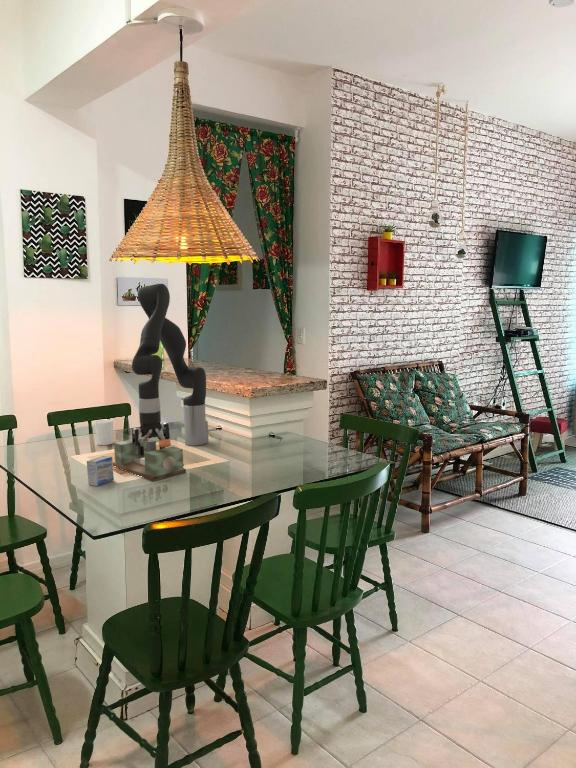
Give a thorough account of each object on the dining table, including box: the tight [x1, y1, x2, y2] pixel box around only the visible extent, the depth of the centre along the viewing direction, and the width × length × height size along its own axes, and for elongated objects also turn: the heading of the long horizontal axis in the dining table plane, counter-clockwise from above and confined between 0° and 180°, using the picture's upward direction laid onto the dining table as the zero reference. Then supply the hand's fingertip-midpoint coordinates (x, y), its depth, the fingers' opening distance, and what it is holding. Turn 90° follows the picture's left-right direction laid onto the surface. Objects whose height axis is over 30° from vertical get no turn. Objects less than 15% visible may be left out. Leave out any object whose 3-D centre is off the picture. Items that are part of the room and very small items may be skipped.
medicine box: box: [86, 455, 115, 487], centre depth 220 cm, size 8×4×9 cm, turn 151°
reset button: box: [158, 438, 172, 448], centre depth 225 cm, size 4×4×2 cm
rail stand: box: [113, 438, 187, 482], centre depth 235 cm, size 14×28×9 cm, turn 43°
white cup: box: [94, 419, 114, 446], centre depth 278 cm, size 8×8×10 cm
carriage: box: [140, 439, 157, 465], centre depth 231 cm, size 8×6×9 cm
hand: (152, 453), depth 232 cm, fingers open, 8 cm apart
